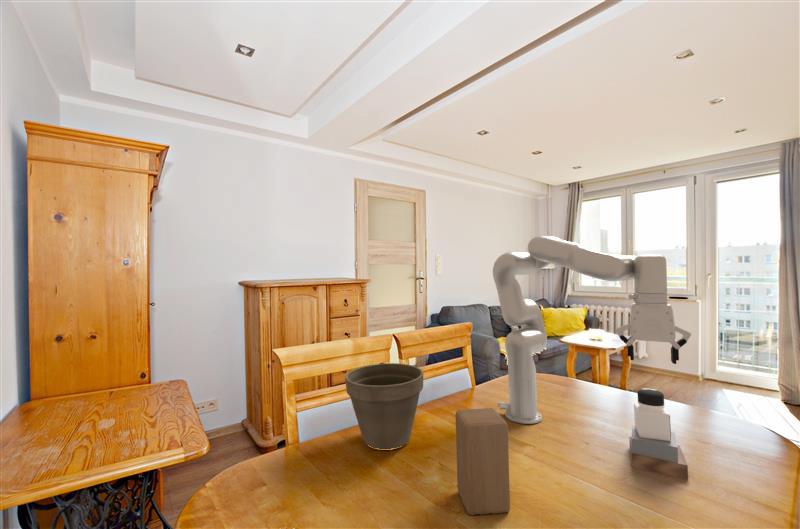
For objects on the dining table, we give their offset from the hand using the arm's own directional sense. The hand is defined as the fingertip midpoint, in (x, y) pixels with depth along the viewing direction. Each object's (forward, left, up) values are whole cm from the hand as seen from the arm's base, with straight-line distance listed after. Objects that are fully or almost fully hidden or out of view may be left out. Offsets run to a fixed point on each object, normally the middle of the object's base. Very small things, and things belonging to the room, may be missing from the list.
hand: (652, 361), depth 102 cm
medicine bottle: (-1, -1, -20) cm, 20 cm away
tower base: (0, -1, -28) cm, 28 cm away
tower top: (0, -1, -24) cm, 24 cm away
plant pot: (-74, -21, -28) cm, 82 cm away
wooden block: (-38, -38, -28) cm, 60 cm away
